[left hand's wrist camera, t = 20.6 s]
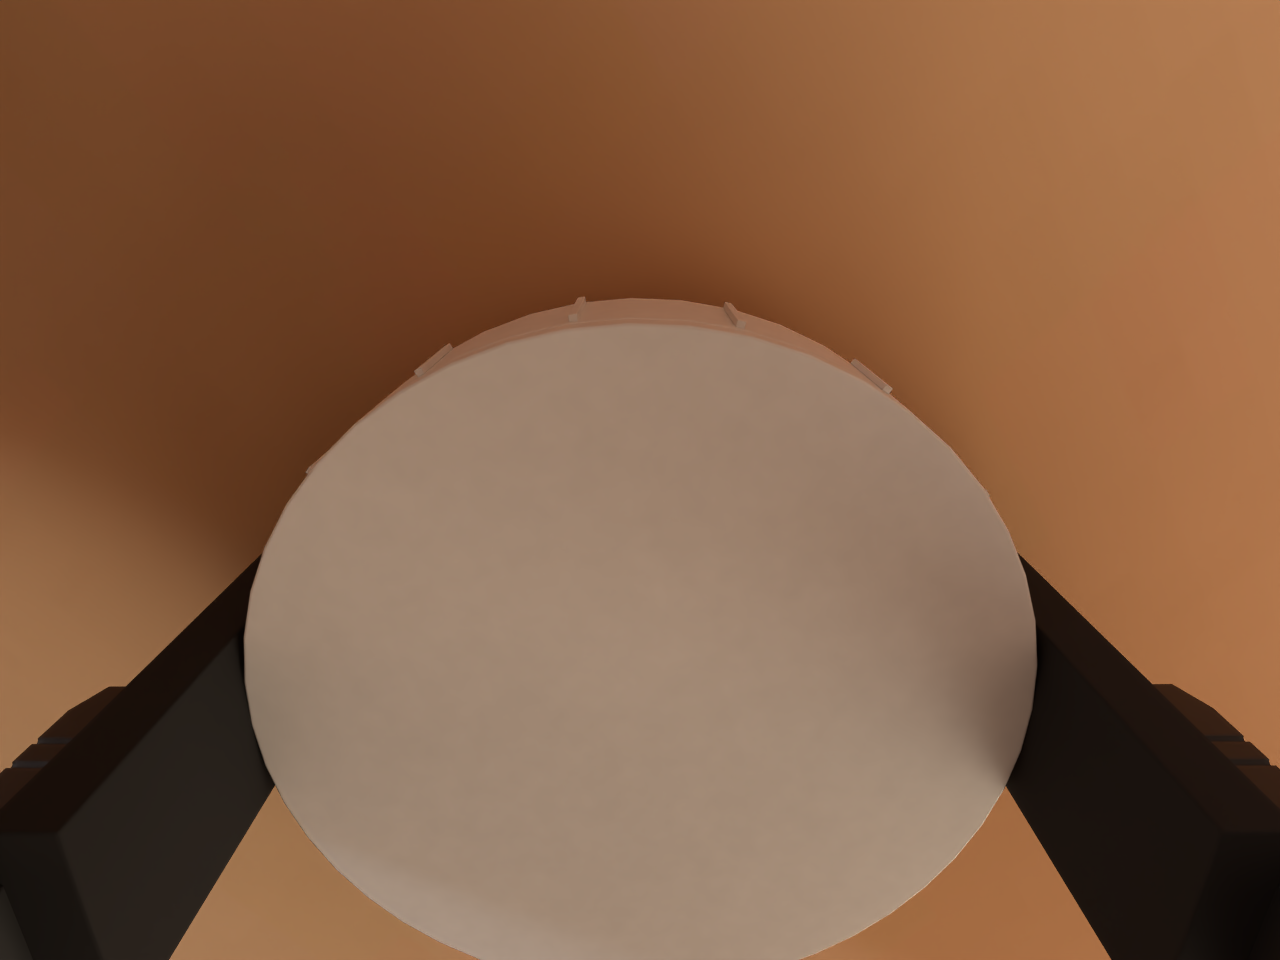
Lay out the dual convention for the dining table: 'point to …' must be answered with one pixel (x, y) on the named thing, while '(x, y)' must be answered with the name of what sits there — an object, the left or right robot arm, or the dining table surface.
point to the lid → (640, 643)
